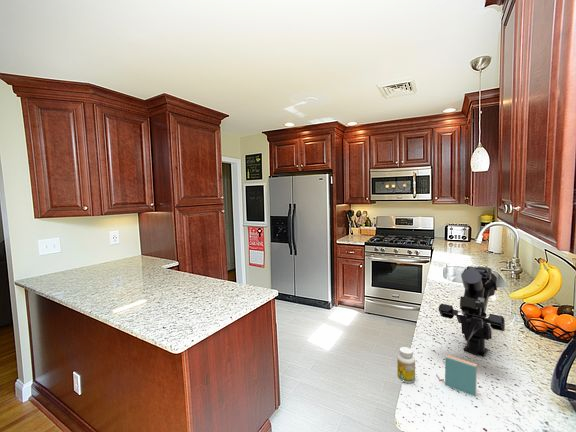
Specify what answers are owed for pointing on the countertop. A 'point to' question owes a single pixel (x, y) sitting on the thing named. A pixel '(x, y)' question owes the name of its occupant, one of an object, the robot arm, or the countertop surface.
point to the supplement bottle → (406, 365)
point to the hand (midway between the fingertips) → (466, 340)
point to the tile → (461, 374)
